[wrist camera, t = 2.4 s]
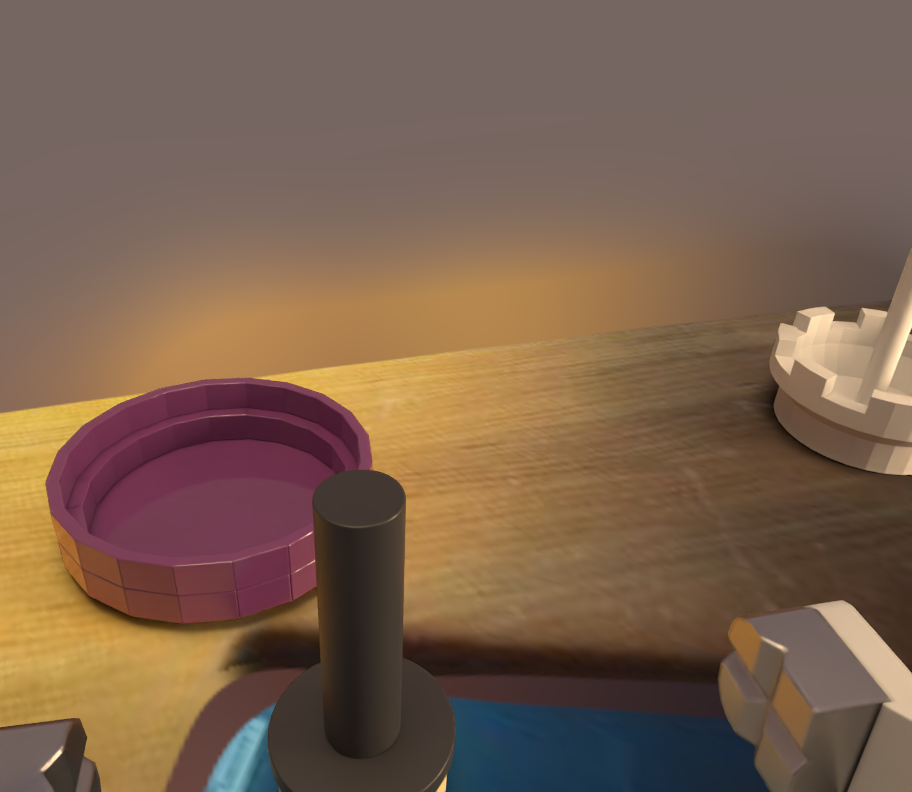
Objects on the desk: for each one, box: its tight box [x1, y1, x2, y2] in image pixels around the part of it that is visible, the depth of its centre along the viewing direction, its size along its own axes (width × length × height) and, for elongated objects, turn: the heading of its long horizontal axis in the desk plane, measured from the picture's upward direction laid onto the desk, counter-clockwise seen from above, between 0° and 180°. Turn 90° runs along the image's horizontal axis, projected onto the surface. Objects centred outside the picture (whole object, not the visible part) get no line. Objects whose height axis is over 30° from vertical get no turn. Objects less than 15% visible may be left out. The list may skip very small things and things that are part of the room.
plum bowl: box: [45, 378, 372, 624], centre depth 41 cm, size 15×15×4 cm
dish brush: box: [268, 469, 456, 792], centre depth 26 cm, size 6×6×14 cm
